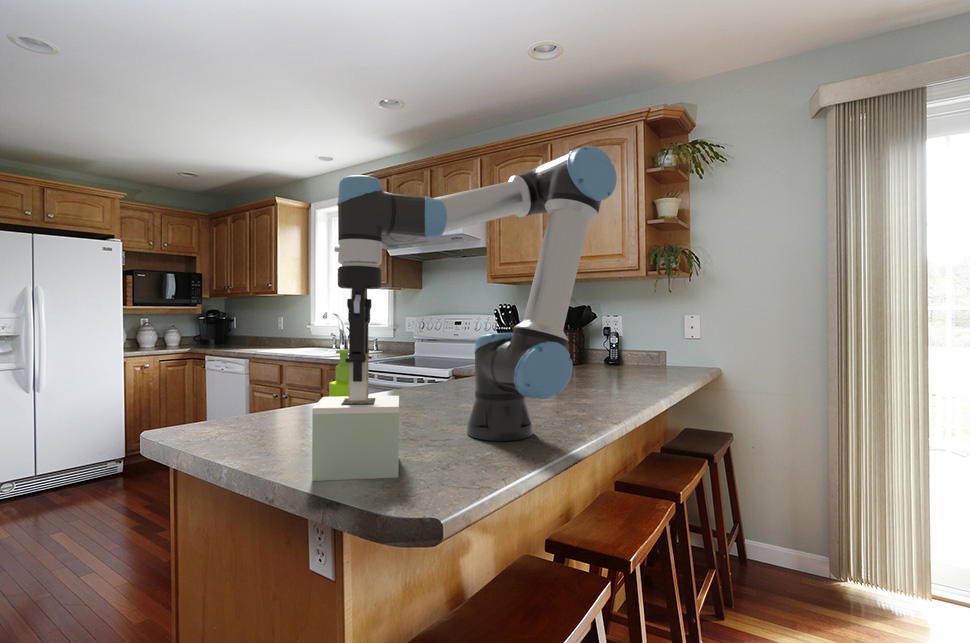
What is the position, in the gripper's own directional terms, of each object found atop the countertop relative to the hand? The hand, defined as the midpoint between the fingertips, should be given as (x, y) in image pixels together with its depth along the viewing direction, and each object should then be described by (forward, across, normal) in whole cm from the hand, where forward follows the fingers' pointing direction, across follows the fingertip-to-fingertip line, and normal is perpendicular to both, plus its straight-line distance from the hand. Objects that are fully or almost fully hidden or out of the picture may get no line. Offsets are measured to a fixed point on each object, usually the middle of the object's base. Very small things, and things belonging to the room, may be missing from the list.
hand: (359, 397), depth 94 cm
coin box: (+13, 0, 0) cm, 13 cm away
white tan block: (0, 0, 0) cm, 0 cm away
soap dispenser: (+13, -18, -4) cm, 23 cm away
